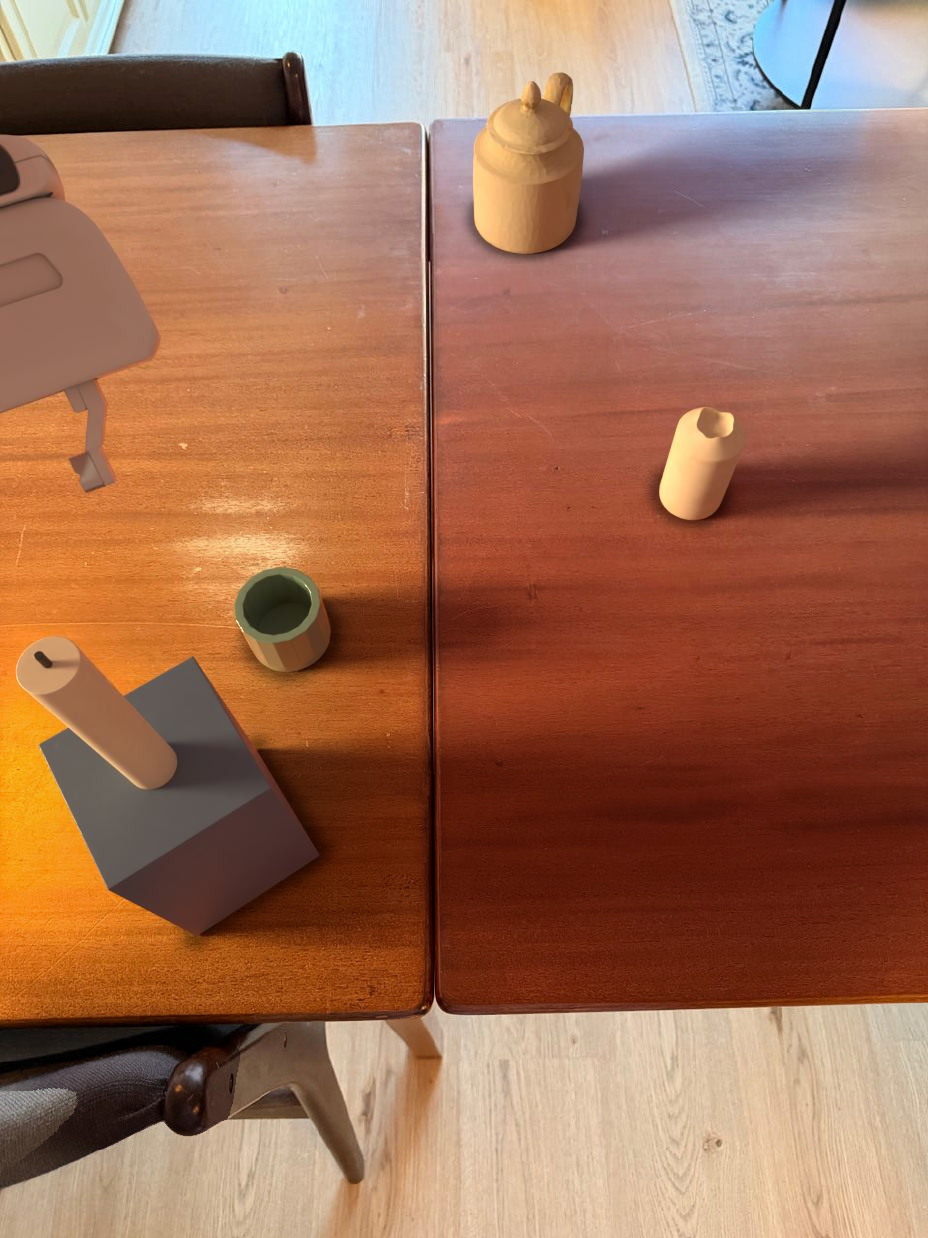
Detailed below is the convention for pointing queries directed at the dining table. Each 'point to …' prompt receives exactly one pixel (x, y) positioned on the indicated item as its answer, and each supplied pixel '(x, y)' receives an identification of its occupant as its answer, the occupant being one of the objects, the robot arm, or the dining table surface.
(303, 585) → the holder
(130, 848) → the riser
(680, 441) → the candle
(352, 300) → the dining table surface
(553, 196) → the sugar bowl
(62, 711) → the taper
